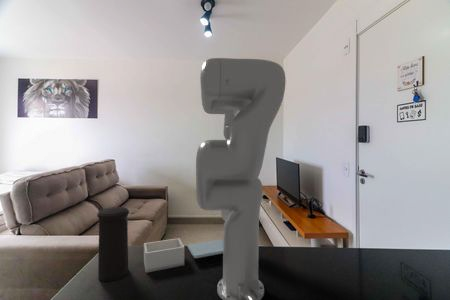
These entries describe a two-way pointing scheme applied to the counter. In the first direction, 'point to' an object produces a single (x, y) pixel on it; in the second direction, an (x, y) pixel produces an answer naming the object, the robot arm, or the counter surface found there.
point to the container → (113, 243)
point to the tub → (163, 254)
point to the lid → (206, 248)
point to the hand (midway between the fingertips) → (230, 240)
